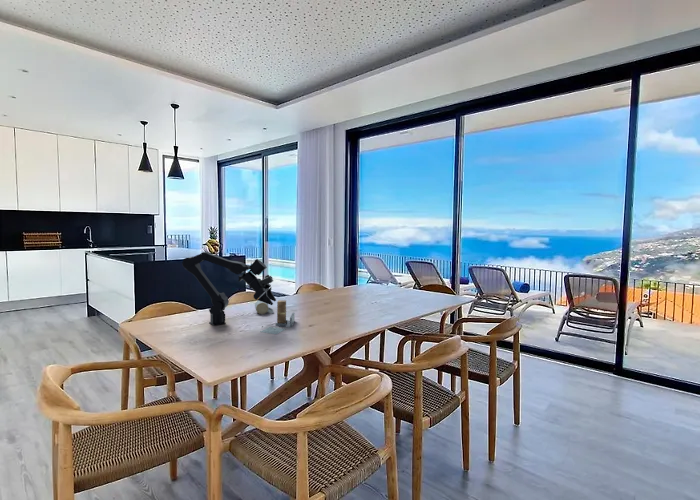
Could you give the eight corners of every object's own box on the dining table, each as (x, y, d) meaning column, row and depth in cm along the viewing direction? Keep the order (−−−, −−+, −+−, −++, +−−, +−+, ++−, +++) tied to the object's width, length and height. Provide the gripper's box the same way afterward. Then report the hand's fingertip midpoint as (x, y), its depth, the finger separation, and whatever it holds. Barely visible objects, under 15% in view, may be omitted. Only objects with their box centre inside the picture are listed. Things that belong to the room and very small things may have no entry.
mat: (259, 332, 178) (259, 331, 178) (270, 327, 187) (270, 326, 187) (276, 334, 175) (276, 333, 175) (285, 330, 184) (285, 329, 184)
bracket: (274, 327, 187) (274, 317, 187) (278, 321, 199) (278, 312, 199) (291, 327, 188) (291, 318, 187) (294, 321, 200) (294, 312, 199)
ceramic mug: (255, 315, 212) (256, 302, 211) (254, 312, 219) (255, 299, 219) (274, 314, 215) (274, 301, 215) (272, 311, 223) (273, 298, 222)
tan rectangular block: (277, 324, 191) (277, 301, 191) (278, 322, 196) (278, 300, 195) (285, 324, 192) (285, 302, 191) (286, 322, 196) (286, 300, 195)
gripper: (259, 273, 182) (282, 295, 183) (267, 268, 201) (287, 288, 202) (243, 288, 182) (266, 310, 183) (252, 282, 201) (273, 302, 202)
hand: (274, 302), depth 193 cm, fingers open, 9 cm apart
